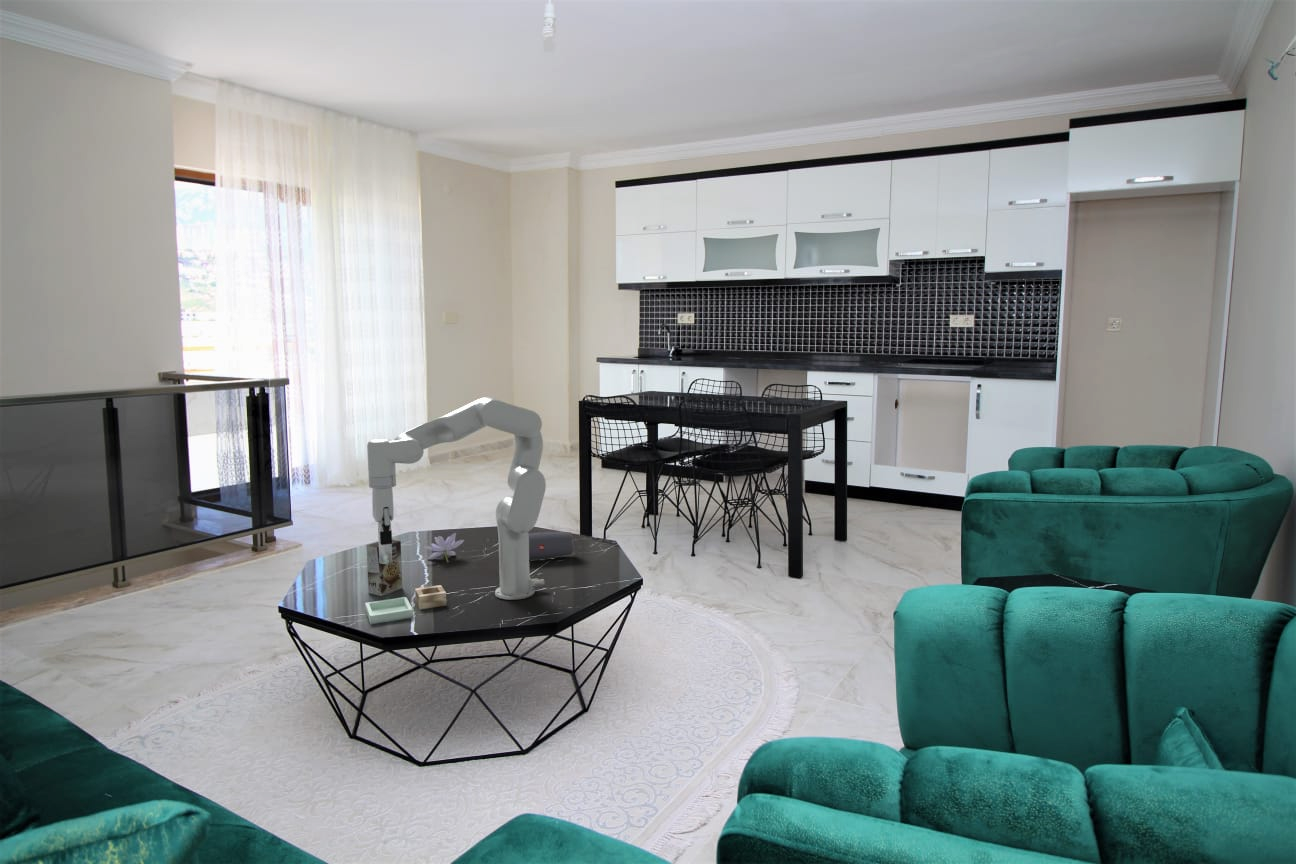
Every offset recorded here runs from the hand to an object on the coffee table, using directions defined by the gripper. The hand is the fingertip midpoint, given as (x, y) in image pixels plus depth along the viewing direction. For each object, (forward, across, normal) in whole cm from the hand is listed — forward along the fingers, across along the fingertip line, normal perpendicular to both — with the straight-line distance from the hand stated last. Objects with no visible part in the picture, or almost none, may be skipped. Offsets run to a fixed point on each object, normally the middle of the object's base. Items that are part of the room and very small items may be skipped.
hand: (385, 541), depth 233 cm
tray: (+22, 0, 0) cm, 22 cm away
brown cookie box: (+23, -22, +2) cm, 32 cm away
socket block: (+22, -4, +13) cm, 26 cm away
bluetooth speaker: (+22, -33, +58) cm, 70 cm away
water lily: (+23, -48, +27) cm, 60 cm away
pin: (+6, 0, 0) cm, 6 cm away
